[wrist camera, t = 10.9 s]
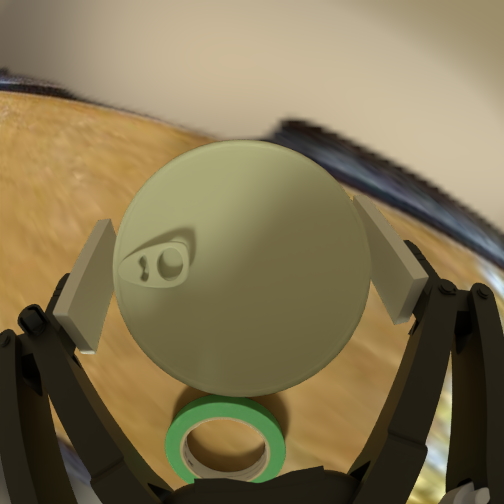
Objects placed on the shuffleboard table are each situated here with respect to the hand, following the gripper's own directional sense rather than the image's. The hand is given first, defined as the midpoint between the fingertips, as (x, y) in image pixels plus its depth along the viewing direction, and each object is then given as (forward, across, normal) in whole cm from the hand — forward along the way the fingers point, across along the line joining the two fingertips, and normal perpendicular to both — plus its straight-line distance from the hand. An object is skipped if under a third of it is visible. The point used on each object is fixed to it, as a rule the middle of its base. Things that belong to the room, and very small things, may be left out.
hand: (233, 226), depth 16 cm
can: (+3, 0, -6) cm, 7 cm away
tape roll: (-5, -3, -21) cm, 22 cm away
